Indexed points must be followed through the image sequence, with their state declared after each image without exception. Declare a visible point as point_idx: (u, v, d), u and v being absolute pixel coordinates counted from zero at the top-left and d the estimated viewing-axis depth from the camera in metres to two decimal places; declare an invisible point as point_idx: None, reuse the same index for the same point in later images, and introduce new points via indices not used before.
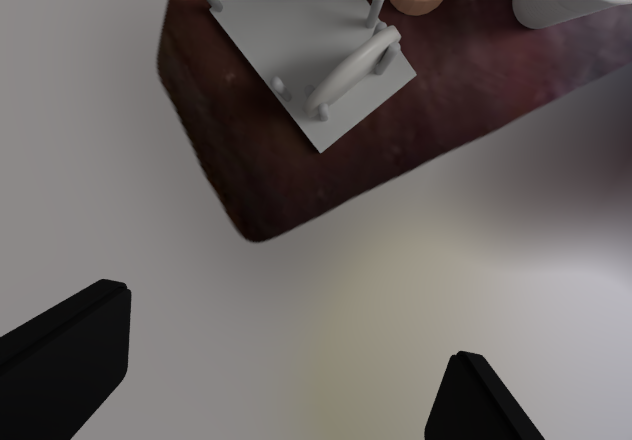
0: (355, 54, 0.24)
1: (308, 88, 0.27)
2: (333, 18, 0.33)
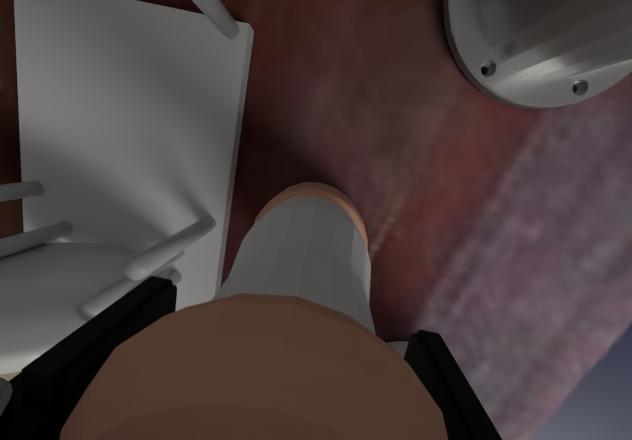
0: None
1: None
2: (171, 171, 0.20)
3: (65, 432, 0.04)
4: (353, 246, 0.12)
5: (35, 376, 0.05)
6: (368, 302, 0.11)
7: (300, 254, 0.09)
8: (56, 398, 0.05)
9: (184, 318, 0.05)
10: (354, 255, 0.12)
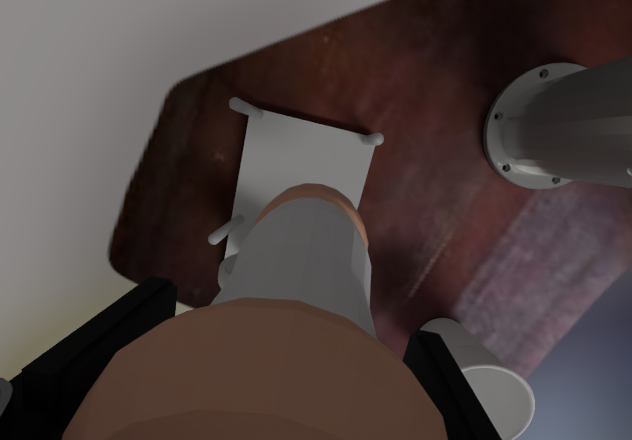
0: None
1: (230, 267, 0.28)
2: None
3: (67, 437, 0.04)
4: (353, 248, 0.12)
5: (35, 376, 0.05)
6: (368, 304, 0.11)
7: (301, 256, 0.09)
8: (56, 398, 0.05)
9: (184, 323, 0.05)
10: (354, 257, 0.12)
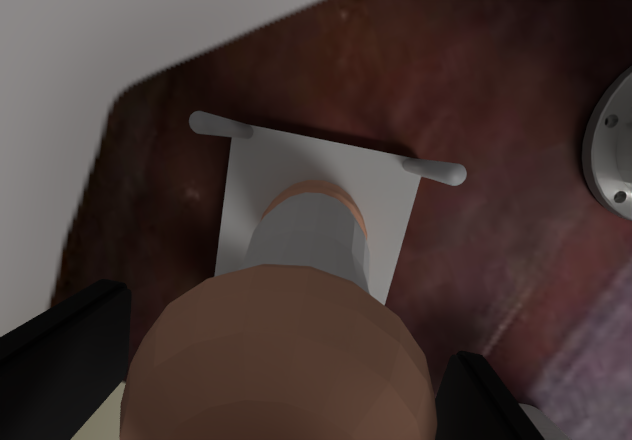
0: None
1: None
2: None
3: (135, 364, 0.06)
4: (354, 236, 0.14)
5: None
6: (367, 284, 0.12)
7: (308, 240, 0.11)
8: None
9: (224, 279, 0.06)
10: (354, 243, 0.13)
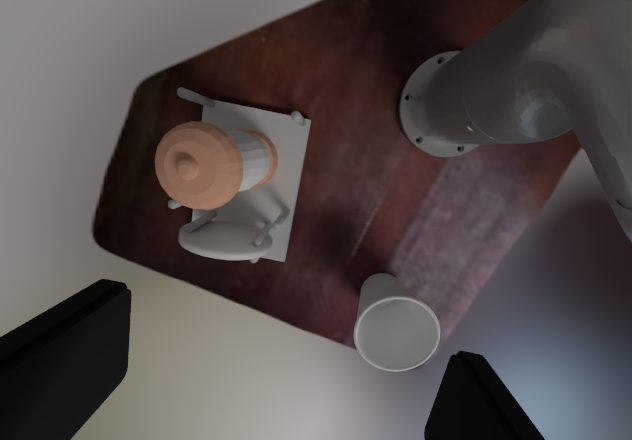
0: (214, 251, 0.32)
1: (188, 227, 0.34)
2: (269, 185, 0.41)
3: (159, 144, 0.23)
4: (250, 143, 0.31)
5: None
6: (250, 159, 0.29)
7: None
8: None
9: (182, 124, 0.23)
10: (248, 144, 0.30)
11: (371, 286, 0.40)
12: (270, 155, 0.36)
